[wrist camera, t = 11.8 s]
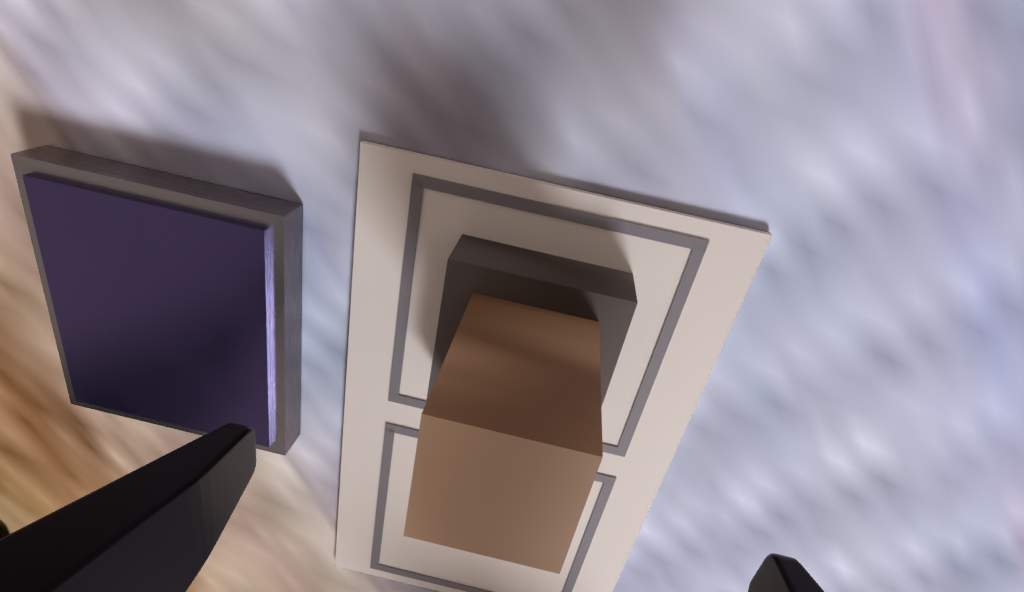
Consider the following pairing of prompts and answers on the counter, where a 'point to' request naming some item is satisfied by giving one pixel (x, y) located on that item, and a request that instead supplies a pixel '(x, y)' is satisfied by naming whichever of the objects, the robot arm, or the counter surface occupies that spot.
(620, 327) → the stamp
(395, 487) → the form sheet
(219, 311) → the ink pad
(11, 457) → the counter surface
